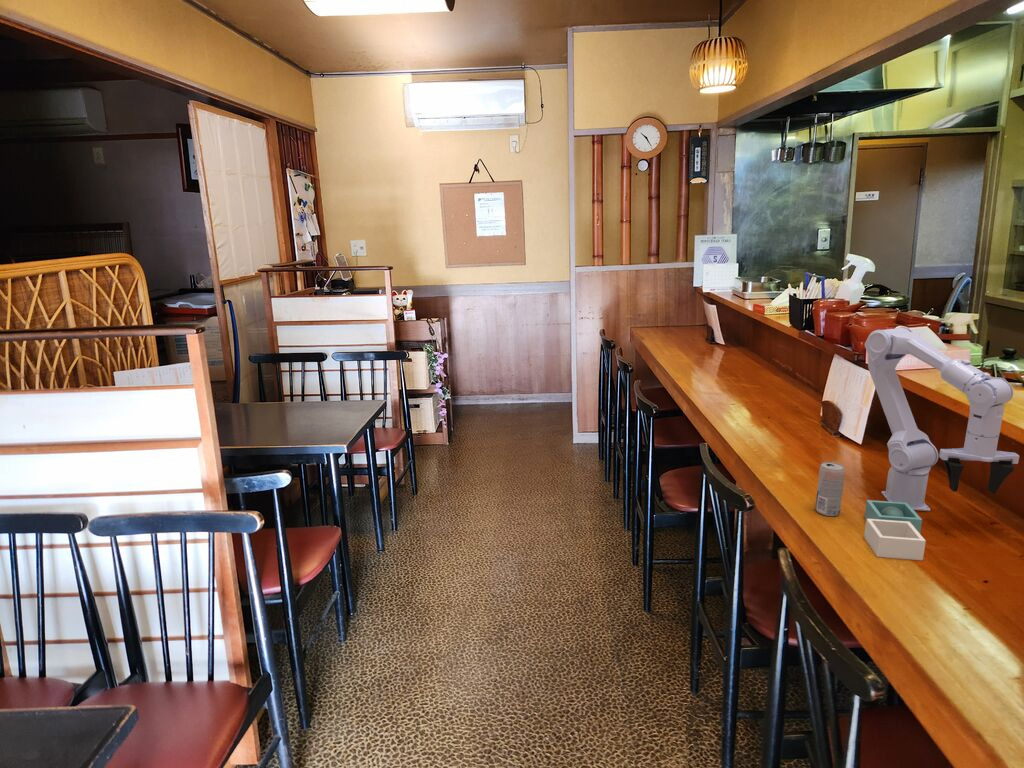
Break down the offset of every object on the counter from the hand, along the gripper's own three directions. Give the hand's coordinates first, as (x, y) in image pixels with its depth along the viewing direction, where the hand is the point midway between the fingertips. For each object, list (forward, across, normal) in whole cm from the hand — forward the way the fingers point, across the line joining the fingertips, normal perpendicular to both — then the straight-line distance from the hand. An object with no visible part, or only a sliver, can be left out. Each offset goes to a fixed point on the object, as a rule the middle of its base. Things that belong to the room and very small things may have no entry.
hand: (972, 490), depth 139 cm
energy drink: (+10, -28, +4) cm, 30 cm away
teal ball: (+7, -16, -2) cm, 18 cm away
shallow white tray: (+9, -19, -12) cm, 24 cm away
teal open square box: (+9, -16, -2) cm, 19 cm away
